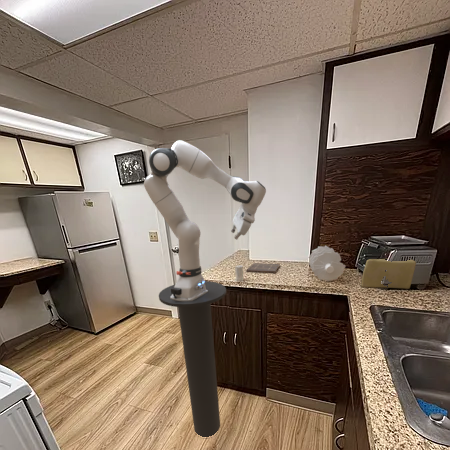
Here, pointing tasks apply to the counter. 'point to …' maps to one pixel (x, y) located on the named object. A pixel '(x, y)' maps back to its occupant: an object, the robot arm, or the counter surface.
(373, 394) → the counter surface
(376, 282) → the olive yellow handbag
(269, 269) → the board
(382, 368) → the counter surface
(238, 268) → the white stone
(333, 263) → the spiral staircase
